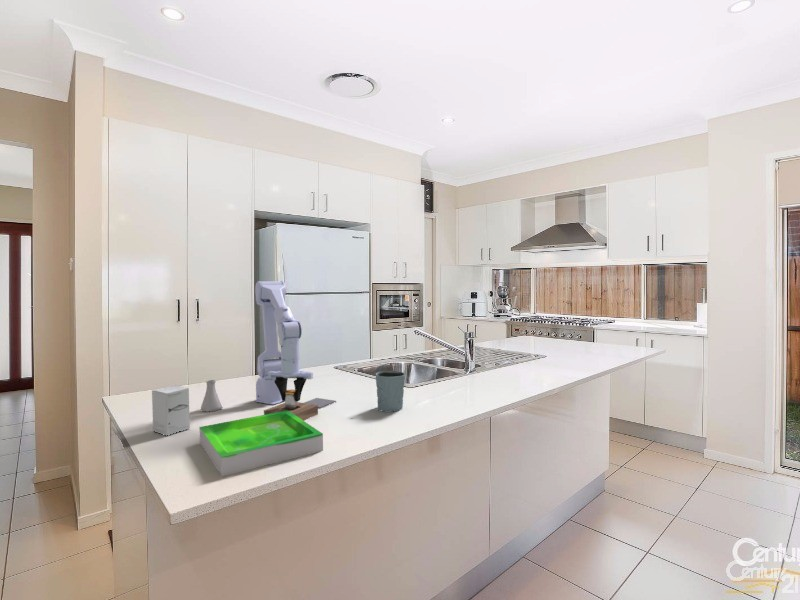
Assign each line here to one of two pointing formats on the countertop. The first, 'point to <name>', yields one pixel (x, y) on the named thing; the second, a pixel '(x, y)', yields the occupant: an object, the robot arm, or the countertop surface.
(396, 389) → the grey cup
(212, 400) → the flask
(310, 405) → the housing
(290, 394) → the glass jar
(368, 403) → the countertop surface
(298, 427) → the tray
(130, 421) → the countertop surface
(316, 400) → the mat
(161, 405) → the supplement box
